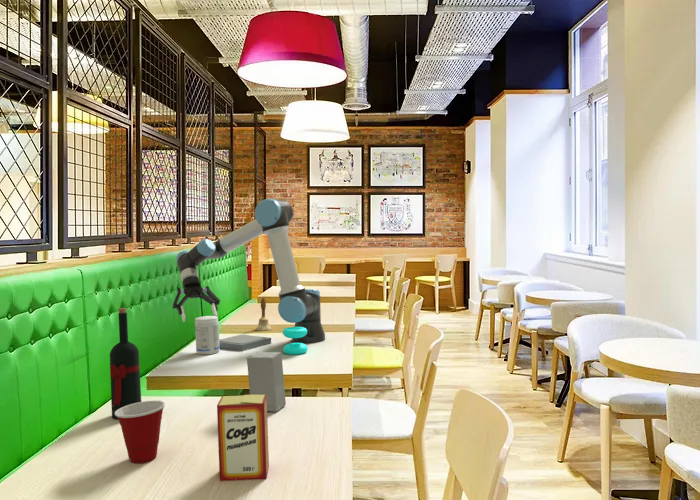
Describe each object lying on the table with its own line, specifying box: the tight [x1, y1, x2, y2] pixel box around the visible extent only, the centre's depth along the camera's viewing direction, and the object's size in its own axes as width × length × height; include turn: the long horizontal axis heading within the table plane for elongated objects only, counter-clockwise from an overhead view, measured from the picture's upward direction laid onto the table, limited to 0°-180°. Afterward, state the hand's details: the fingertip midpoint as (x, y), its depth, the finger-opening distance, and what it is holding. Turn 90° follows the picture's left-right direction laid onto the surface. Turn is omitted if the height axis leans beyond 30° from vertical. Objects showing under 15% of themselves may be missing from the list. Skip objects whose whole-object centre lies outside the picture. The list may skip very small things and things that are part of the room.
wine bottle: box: [109, 307, 142, 421], centre depth 165 cm, size 8×10×30 cm
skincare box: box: [246, 351, 287, 413], centre depth 170 cm, size 8×7×16 cm
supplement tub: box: [194, 315, 221, 356], centre depth 249 cm, size 10×10×15 cm
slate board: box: [219, 334, 272, 352], centre depth 263 cm, size 18×18×3 cm
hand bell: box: [255, 297, 273, 332], centre depth 303 cm, size 8×8×16 cm
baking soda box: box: [216, 394, 270, 482], centre depth 125 cm, size 10×6×16 cm
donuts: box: [282, 326, 309, 356], centre depth 245 cm, size 10×10×10 cm
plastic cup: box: [115, 400, 166, 464], centre depth 135 cm, size 11×11×12 cm
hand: (200, 318), depth 255 cm, fingers open, 13 cm apart
